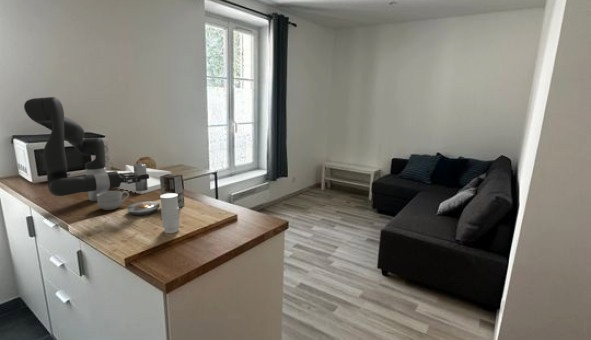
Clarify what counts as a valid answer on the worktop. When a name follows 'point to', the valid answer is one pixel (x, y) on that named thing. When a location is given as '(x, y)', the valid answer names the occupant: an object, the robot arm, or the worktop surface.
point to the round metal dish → (143, 208)
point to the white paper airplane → (152, 181)
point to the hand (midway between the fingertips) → (146, 175)
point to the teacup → (111, 199)
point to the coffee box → (173, 186)
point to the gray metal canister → (140, 170)
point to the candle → (170, 212)
